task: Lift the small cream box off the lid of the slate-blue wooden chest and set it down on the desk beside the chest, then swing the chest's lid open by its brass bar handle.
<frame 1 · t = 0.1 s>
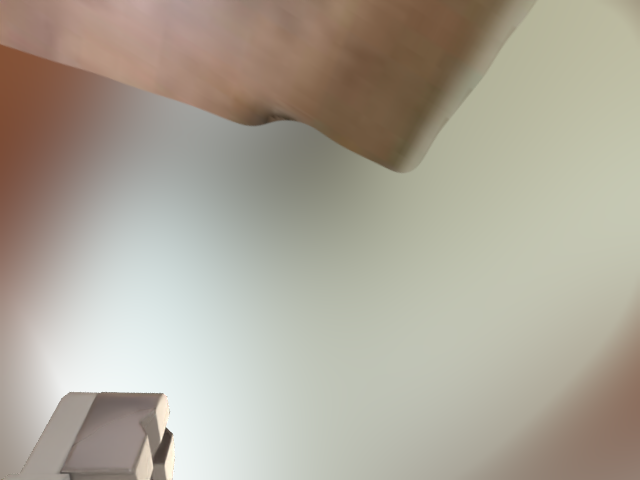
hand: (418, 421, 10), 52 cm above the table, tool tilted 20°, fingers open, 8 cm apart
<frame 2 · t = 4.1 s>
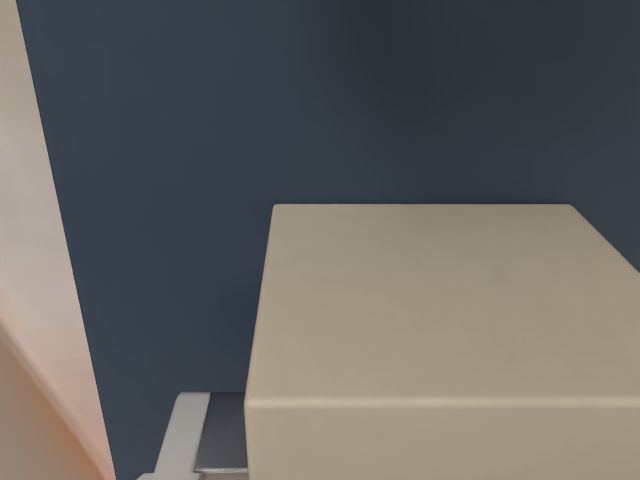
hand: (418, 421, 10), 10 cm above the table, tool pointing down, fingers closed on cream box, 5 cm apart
lid: (436, 266, 8), point 10 cm above the table, hinge at -0.1°, touching cream box
cream box: (407, 364, 11), point 9 cm above the table, touching gripper, lid
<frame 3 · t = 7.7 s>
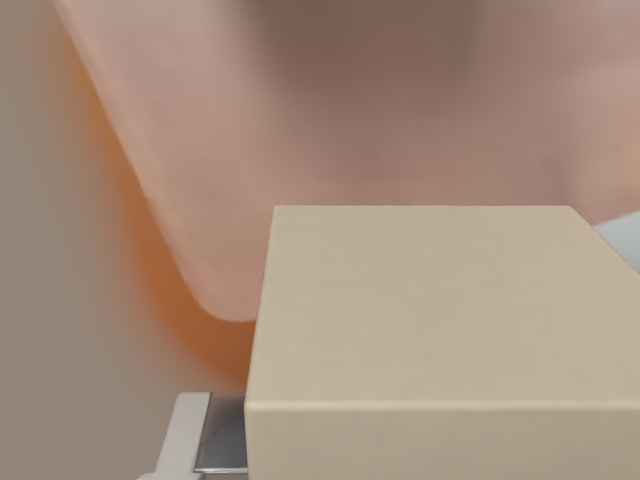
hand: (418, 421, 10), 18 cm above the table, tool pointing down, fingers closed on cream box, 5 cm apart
cream box: (408, 365, 11), point 17 cm above the table, touching gripper
when the fingers open (1 cm above the table, at t = 11.2 s): cream box stays where it is, on the table.
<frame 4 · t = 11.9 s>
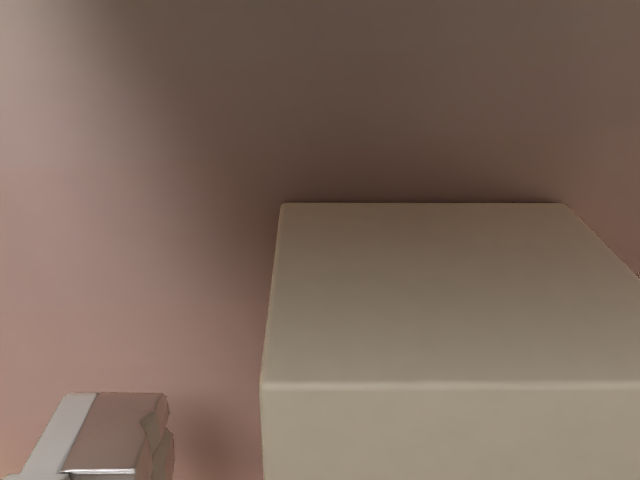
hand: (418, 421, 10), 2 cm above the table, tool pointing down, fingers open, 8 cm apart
cream box: (409, 356, 11), on the table
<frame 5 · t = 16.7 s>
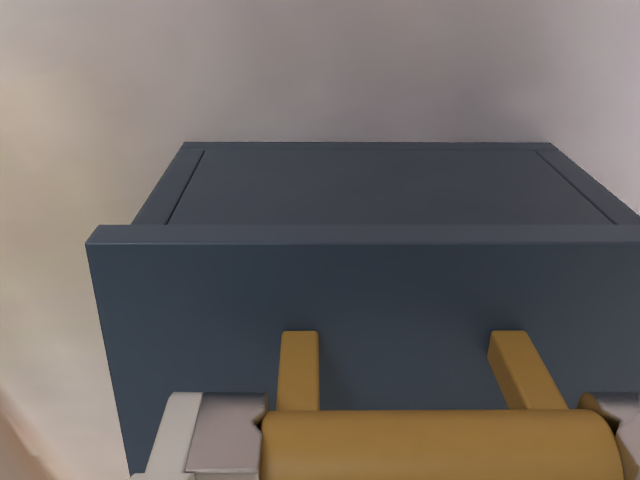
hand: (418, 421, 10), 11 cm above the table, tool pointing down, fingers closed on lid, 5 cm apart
chest: (359, 332, 22), on the table
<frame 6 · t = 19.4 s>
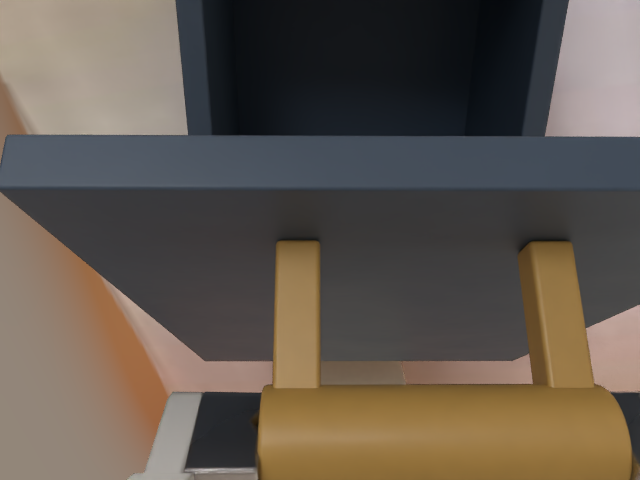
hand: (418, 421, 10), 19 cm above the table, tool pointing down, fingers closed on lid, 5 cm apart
chest: (351, 106, 26), on the table
lid: (385, 378, 14), point 15 cm above the table, hinge at 44.6°, touching gripper
cream box: (353, 396, 34), on the table
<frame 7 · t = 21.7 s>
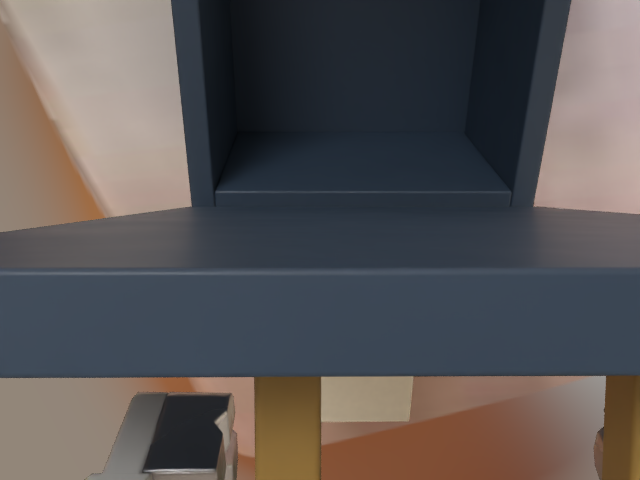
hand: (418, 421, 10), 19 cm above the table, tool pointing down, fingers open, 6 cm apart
lid: (397, 329, 12), point 16 cm above the table, hinge at 68.1°
cream box: (355, 313, 31), on the table
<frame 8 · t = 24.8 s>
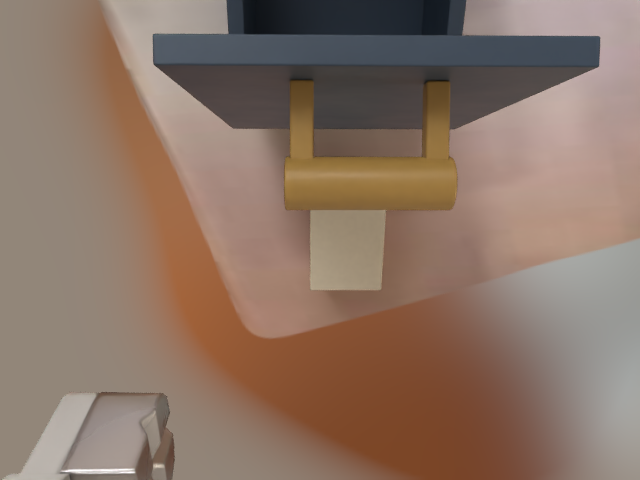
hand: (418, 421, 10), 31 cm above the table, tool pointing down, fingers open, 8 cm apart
lid: (355, 146, 23), point 16 cm above the table, hinge at 68.1°
cream box: (343, 218, 42), on the table
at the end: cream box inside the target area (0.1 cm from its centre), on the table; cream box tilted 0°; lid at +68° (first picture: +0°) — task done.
